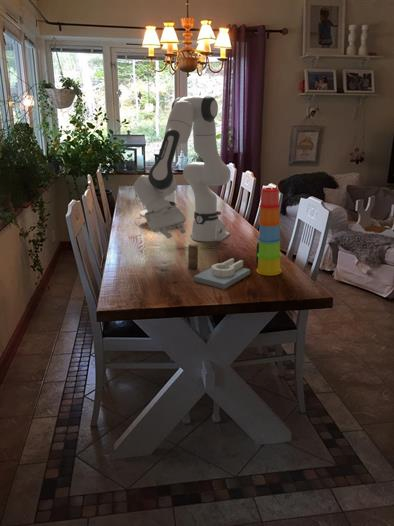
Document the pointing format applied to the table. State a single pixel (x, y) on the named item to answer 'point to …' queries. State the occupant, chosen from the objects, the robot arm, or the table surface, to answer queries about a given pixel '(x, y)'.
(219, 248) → the table surface
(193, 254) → the walnut dowel
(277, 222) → the stacking cups
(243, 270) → the keyhole board
